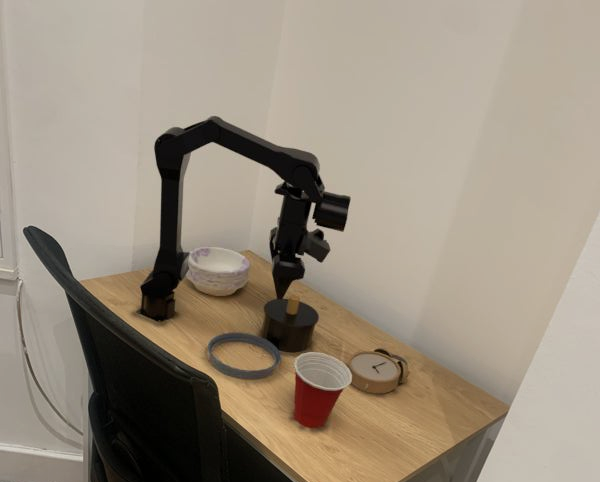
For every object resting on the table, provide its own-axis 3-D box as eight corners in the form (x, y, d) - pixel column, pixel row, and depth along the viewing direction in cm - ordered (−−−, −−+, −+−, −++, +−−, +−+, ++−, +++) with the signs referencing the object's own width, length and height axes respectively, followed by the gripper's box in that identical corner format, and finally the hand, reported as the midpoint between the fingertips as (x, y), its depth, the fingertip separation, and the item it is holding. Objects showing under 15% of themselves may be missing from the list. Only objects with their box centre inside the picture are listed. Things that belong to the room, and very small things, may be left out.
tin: (251, 341, 141) (256, 313, 137) (275, 323, 150) (280, 296, 146) (296, 360, 138) (303, 332, 134) (317, 341, 147) (324, 314, 143)
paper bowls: (193, 268, 165) (196, 240, 161) (250, 283, 165) (255, 254, 161) (175, 293, 152) (178, 262, 148) (237, 308, 152) (242, 278, 148)
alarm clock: (336, 359, 136) (387, 336, 144) (334, 377, 139) (384, 353, 147) (372, 388, 130) (424, 362, 137) (369, 406, 133) (419, 380, 140)
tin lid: (253, 315, 138) (256, 296, 135) (278, 297, 147) (282, 278, 145) (303, 336, 134) (308, 317, 132) (326, 316, 144) (331, 298, 141)
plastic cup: (313, 447, 115) (328, 393, 109) (270, 416, 120) (281, 362, 114) (349, 425, 123) (365, 373, 116) (307, 396, 128) (319, 345, 121)
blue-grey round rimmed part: (192, 362, 130) (193, 351, 129) (230, 334, 142) (232, 324, 140) (256, 391, 126) (258, 380, 125) (290, 360, 138) (292, 350, 137)
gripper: (338, 244, 122) (319, 316, 130) (327, 209, 137) (311, 276, 145) (280, 234, 120) (265, 307, 128) (276, 200, 135) (262, 268, 143)
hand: (278, 289), depth 136 cm, fingers open, 9 cm apart
